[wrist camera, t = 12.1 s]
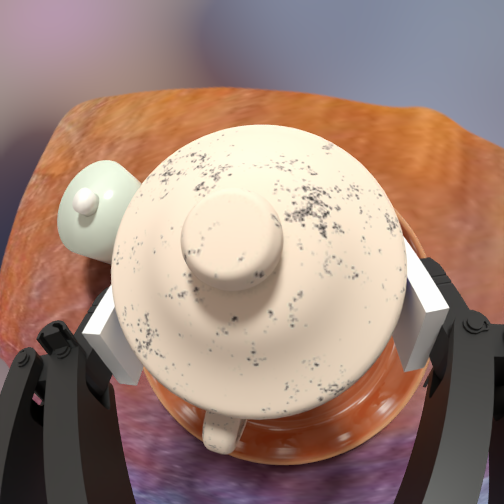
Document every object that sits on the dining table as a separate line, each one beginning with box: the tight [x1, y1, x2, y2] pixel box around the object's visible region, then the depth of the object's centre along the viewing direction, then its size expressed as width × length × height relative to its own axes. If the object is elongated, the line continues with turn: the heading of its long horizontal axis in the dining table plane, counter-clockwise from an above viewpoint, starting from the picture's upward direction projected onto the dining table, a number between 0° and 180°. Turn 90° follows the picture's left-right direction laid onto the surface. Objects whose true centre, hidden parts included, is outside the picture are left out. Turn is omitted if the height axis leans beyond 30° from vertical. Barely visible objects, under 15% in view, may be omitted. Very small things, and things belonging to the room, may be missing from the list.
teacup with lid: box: [111, 125, 407, 454], centre depth 11 cm, size 12×9×12 cm
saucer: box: [143, 207, 430, 465], centre depth 21 cm, size 23×23×4 cm
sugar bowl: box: [57, 160, 142, 265], centre depth 23 cm, size 8×8×7 cm
